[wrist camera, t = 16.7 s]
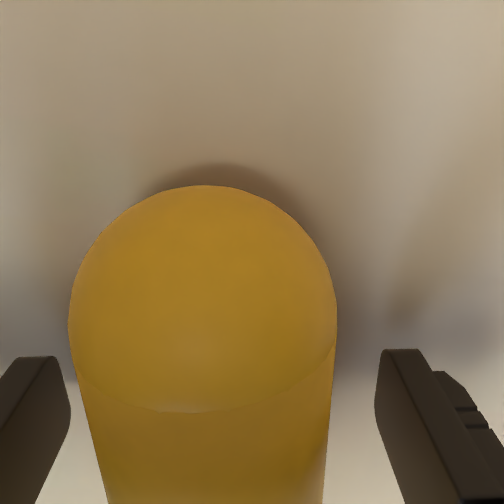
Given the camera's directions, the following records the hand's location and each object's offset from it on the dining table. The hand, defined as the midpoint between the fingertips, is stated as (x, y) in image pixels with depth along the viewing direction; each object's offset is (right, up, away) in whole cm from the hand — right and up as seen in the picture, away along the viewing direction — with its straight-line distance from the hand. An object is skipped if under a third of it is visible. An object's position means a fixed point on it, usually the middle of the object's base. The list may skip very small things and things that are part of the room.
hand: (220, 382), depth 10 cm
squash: (0, 0, +1) cm, 1 cm away
